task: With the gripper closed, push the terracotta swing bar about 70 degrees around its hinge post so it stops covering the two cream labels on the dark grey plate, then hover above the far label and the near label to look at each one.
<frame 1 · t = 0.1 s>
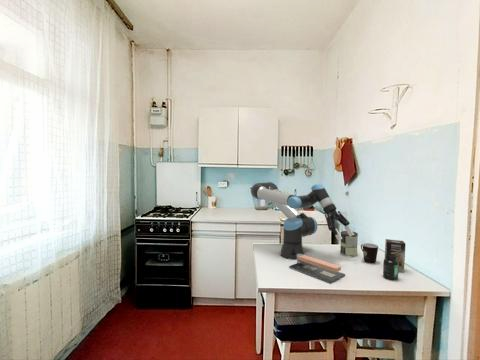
hand: (346, 237, 157), 15 cm above the table, tool tilted 35°, fingers open, 13 cm apart
swing bar: (316, 262, 145), point 5 cm above the table, hinge at 0.0°
supplement bottle: (390, 278, 138), on the table
coffee mug: (369, 261, 162), on the table
coffee can: (348, 254, 174), on the table
coffee box: (393, 269, 149), on the table
label plate: (316, 271, 145), on the table
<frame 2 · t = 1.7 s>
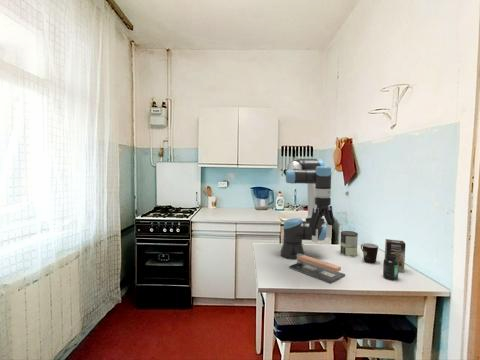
hand: (321, 239, 135), 20 cm above the table, tool pointing down, fingers open, 12 cm apart
nothing on the table moved.
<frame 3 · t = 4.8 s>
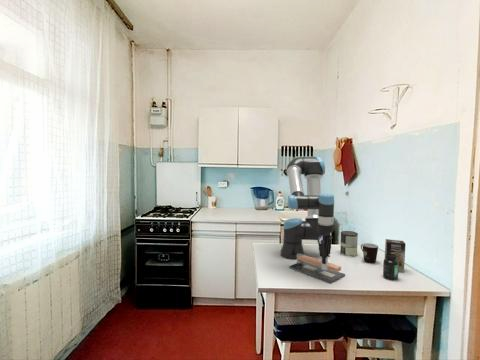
hand: (324, 269, 138), 4 cm above the table, tool pointing down, fingers closed
swing bar: (316, 262, 145), point 5 cm above the table, hinge at 0.5°, touching gripper
everything else where it was.
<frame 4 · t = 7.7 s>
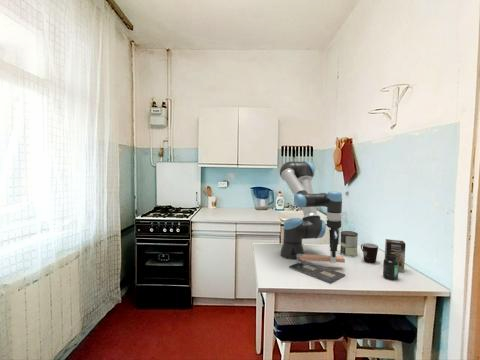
hand: (333, 262, 147), 4 cm above the table, tool pointing down, fingers closed
swing bar: (319, 258, 151), point 5 cm above the table, hinge at 39.7°, touching gripper
everything else where it was.
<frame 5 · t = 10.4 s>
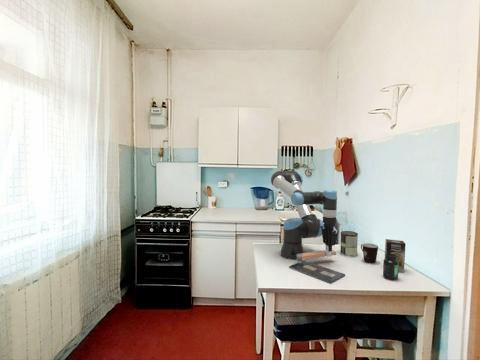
hand: (328, 256, 157), 4 cm above the table, tool pointing down, fingers closed
swing bar: (315, 254, 157), point 5 cm above the table, hinge at 70.5°, touching gripper
everything else where it was.
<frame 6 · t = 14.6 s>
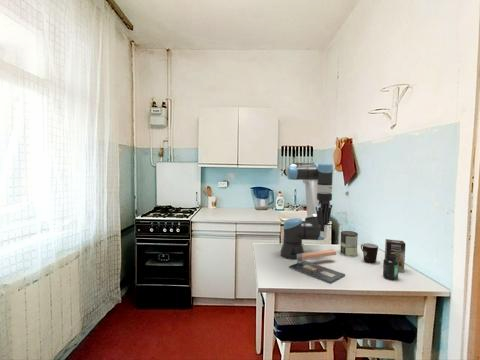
hand: (323, 236, 142), 20 cm above the table, tool pointing down, fingers closed
swing bar: (315, 254, 157), point 5 cm above the table, hinge at 70.5°
everything else where it was.
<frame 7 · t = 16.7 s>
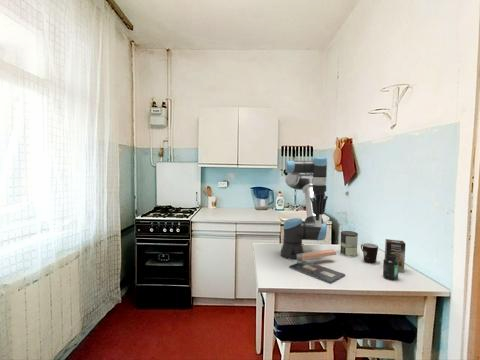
hand: (318, 225, 153), 23 cm above the table, tool pointing down, fingers closed
nothing on the table moved.
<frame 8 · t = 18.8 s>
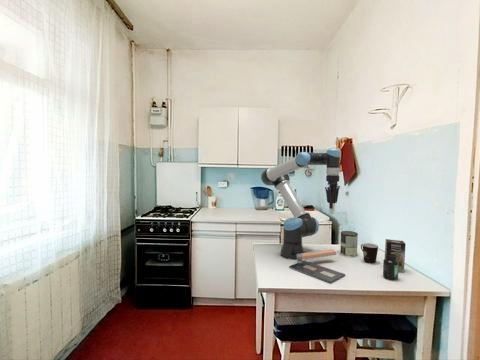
hand: (331, 213, 162), 28 cm above the table, tool pointing down, fingers closed
nothing on the table moved.
at the end: swing bar at +70° (first picture: +0°); coffee mug moved 0.2 cm from its start; coffee can moved 0.2 cm from its start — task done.
